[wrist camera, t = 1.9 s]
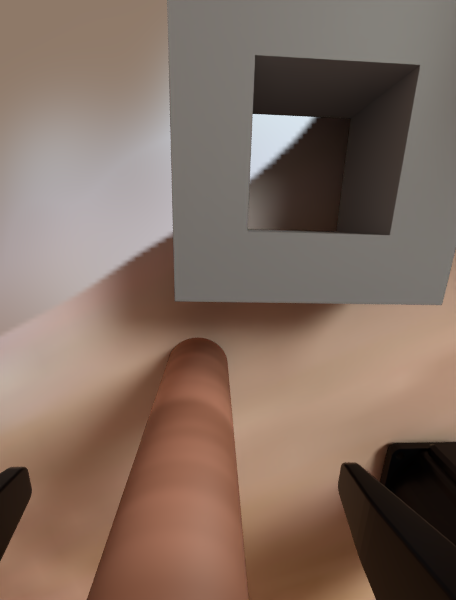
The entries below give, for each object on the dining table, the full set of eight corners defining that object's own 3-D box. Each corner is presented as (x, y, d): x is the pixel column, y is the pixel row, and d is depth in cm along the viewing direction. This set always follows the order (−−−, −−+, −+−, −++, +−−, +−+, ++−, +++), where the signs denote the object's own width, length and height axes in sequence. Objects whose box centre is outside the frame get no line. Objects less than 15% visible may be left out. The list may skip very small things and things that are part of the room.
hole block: (375, 281, 13) (442, 305, 9) (187, 277, 13) (174, 301, 9) (415, 55, 11) (524, -37, 7) (184, 41, 10) (165, -66, 7)
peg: (226, 391, 15) (250, 722, 5) (169, 391, 14) (76, 733, 5) (228, 337, 14) (259, 608, 4) (167, 337, 14) (51, 617, 4)
